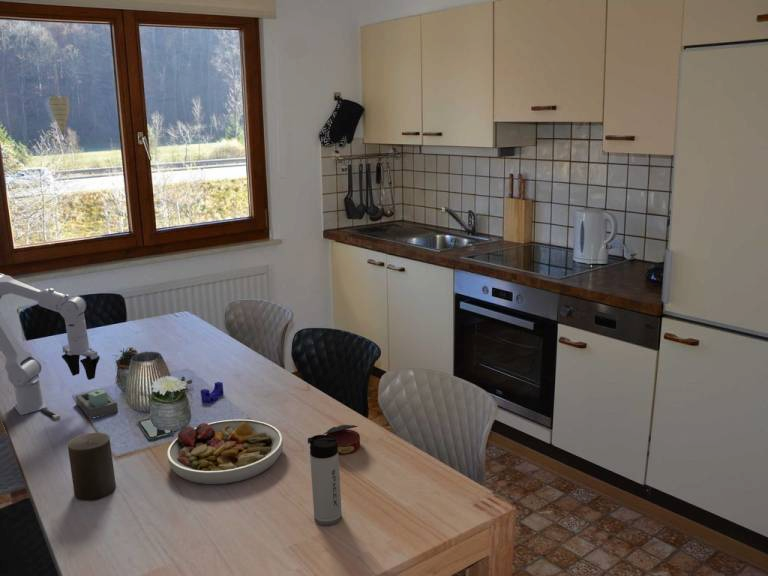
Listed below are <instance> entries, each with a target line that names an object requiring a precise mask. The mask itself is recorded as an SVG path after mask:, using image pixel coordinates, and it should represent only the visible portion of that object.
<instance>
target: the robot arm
mask: <svg viewBox="0 0 768 576" xmlns="http://www.w3.org/2000/svg"><path fill="white" fill-rule="evenodd" d="M9 294H12V295H15V296H18V297H23V298H27V299H30V300H32V301H36V302H37V304H38V306H39V307H41V308H44V309H48V310H51V311H53V312H56V313H59V314H60V316H62V317H63V319H64V323H65V329H66V330H65V331H66V337H67V338H66V339H67V344H66V345H63V346H62V347H61V348H62V353H64V354H62V355H61V358H62V360H63V361H64V362H65V363H66V364H67V367H68V369H69V371H70V373H71V375H72V376H77V375H79V374H80V363H81V365H82V366H83V369H84V372H85V374H86V375H85V376H86V379H87V380H93V379H95V378H96V370H97V365H98V363H99V361H100V358H101V357H100V355H98V351H95V350H94V349H93V348H91V347H90V343H89V337H88V330H87V323H86V317H85V311H86V309H87V302H86V301H85V299H84V298H83V297H81V296H79V295H77V294H76V295H75V294H74V295H72V296H70V295H71V294H67V293H66V294H64V293H61V292H58V291H55V288H52V287H50V288H44V289H43V290H42V289H38V288H36V287H34V286H31V285H30V284H26V283H23V282H21V281H19V280H16V279H15V278H13V277H12V276H11V275H7V274H4V273H1V272H0V300H1V298H2V297H3V296H6V295H9ZM0 350H1V353H2V355H3V356H4V358H5V365H4V369H5V371H6V373H7V378H8V381H9V382H10V383H11V384H12V385H13V390H14V396H15V402H16V404H14V405H13V407H14V409H15V410H16V411H17V413H18V414H19V415H20V416H23V415H27V414H30V413H35V412H37V411H41V409H42V408H45V409H48V405H46V403H45V402H44V401H43V393H42V388H41V383H40V373H41V372H42V368H43V367H42V364H41V362H40V360H38V359H37V358H35V357H34V356H33V354H32V353H31V352H30V351H27V350H25V349H24V347H22V344H21V343H20V342H19V340H18V338H17V337H16V335H15V333H14V332H13V330H12V328H11V327H10V325H9V323H8V321H7V320H6V318H5V316H4V315H3V313H2V311H0ZM80 356H81V357H85V358H82V359H80Z"/></svg>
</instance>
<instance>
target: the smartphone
mask: <svg viewBox="0 0 768 576" xmlns="http://www.w3.org/2000/svg"><path fill="white" fill-rule="evenodd" d="M150 418H151V417H150ZM150 418H146V419H142V420H138V421H137V425H138V427H139V428H140V430H141V431H142V433H143V434H144V436H145V437H146V438H147V440H148V441H149V442H150V441H157V440H160V439H164V438H168V437H171V436H174V434H175V432H174V430H173V429H172V430H159V429H157V428H156V427H154V426H153V424H152V422H151V419H150Z"/></svg>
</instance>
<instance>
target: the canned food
mask: <svg viewBox="0 0 768 576" xmlns="http://www.w3.org/2000/svg"><path fill="white" fill-rule="evenodd" d="M353 428H358V425H355V424H342V425H341V424H340V425H339V426H333V427H330V428H329V429H328V430H327V431H325V432H324V433H323V435H329V436H332V437H334V438H335V439H336V441H337V444H338V456H348V455H353V454H354V453H356V452H358V451H359V450H360V448H361V439H360V438H361V435H360V433H359V432H357V431H356V430H353Z"/></svg>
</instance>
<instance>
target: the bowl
mask: <svg viewBox="0 0 768 576" xmlns="http://www.w3.org/2000/svg"><path fill="white" fill-rule="evenodd" d="M283 445H284V441H283V435H282V432H281V431H280V430H279V429H278V428H277V427H275V426H274V425H271V424H270V423H267V422H264V421H259V420H253V419H226V420H219V421H215V422H209V423H205V422H202V423H199V424H198V425H197V426H196V427H192V426H186V427H183V429H181V430H180V431H179V432H178V434H177V437H176V438H175V439H174V440H173V441H172V442H171V443H170V444H169V446H168V447H167V452H166V455H167V461H168V462H167V463H168V464H169V466H170V468H171V469H172V471H173V472H174V473H175V474H177V476H179V477H181V478H182V479H184V480H187V481H189V482H193V483H196V484H204V485H224V484H231V483H236V482H241V481H243V480H247V479H250V478H252V477H255V476H258V475H259V474H261V473H263V472H265V471H266V470H267V469H269V468H270V467H271V466H272V465H274V463H276V461H277V460H278V458H280V457H279V456H280V455H281V453H282V450H283Z"/></svg>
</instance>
